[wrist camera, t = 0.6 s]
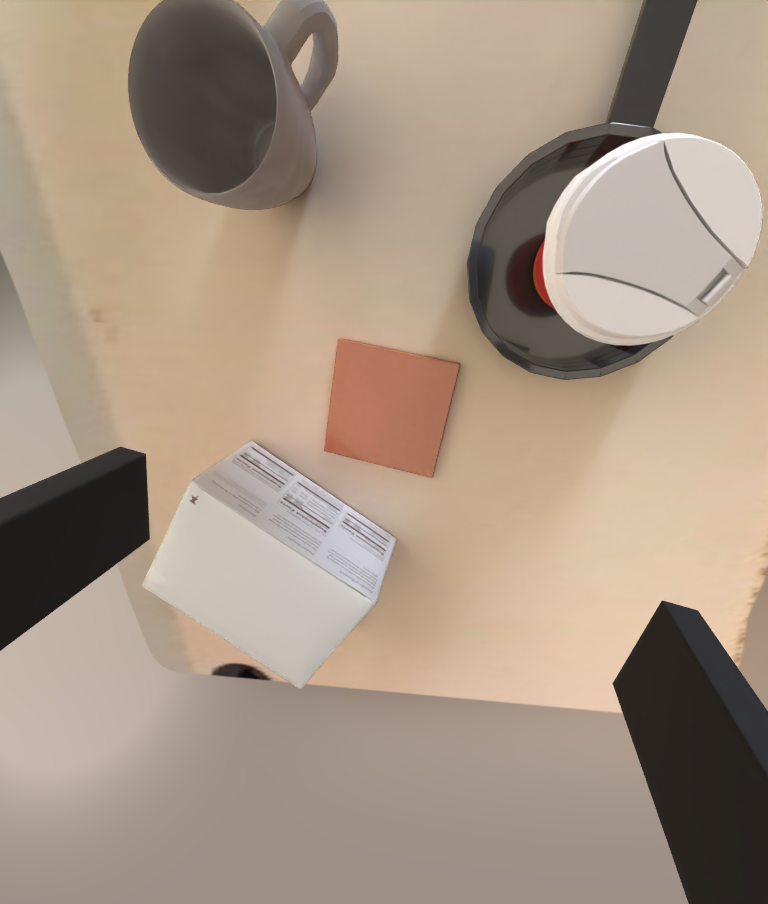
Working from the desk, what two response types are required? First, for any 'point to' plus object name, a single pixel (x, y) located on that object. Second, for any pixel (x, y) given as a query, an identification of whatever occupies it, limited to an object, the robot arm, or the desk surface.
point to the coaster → (389, 406)
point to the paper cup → (649, 238)
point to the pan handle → (650, 61)
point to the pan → (513, 255)
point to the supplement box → (270, 562)
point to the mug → (231, 97)
